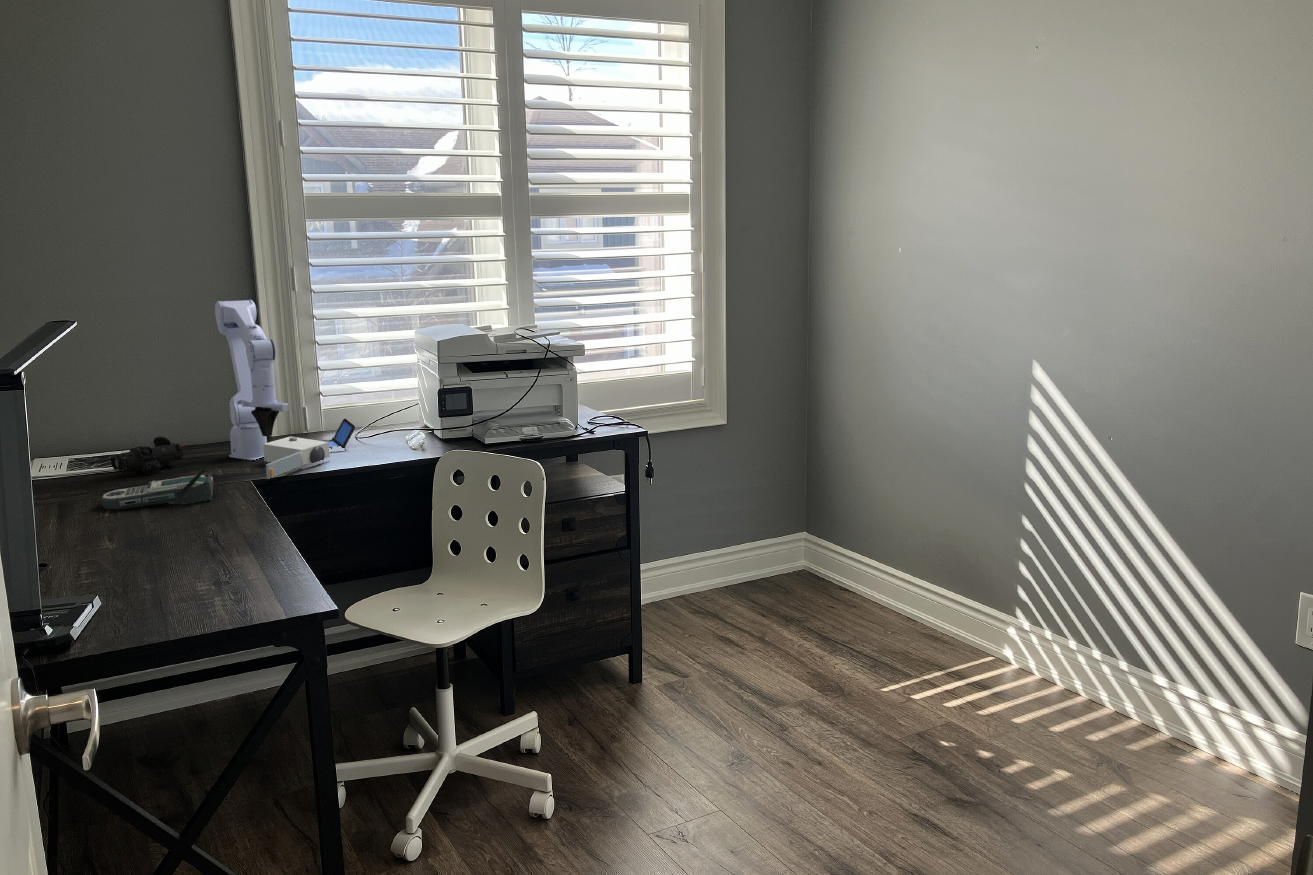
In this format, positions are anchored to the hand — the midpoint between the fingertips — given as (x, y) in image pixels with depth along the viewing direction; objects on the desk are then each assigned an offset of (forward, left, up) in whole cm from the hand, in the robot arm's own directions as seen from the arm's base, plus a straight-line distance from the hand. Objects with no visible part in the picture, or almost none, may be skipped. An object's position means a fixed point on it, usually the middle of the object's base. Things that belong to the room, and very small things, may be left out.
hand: (267, 435), depth 261 cm
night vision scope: (-26, -16, -10) cm, 32 cm away
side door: (+9, -3, -9) cm, 13 cm away
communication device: (-2, -33, -10) cm, 35 cm away
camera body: (+1, +9, -9) cm, 13 cm away
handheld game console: (-2, +27, -10) cm, 29 cm away
